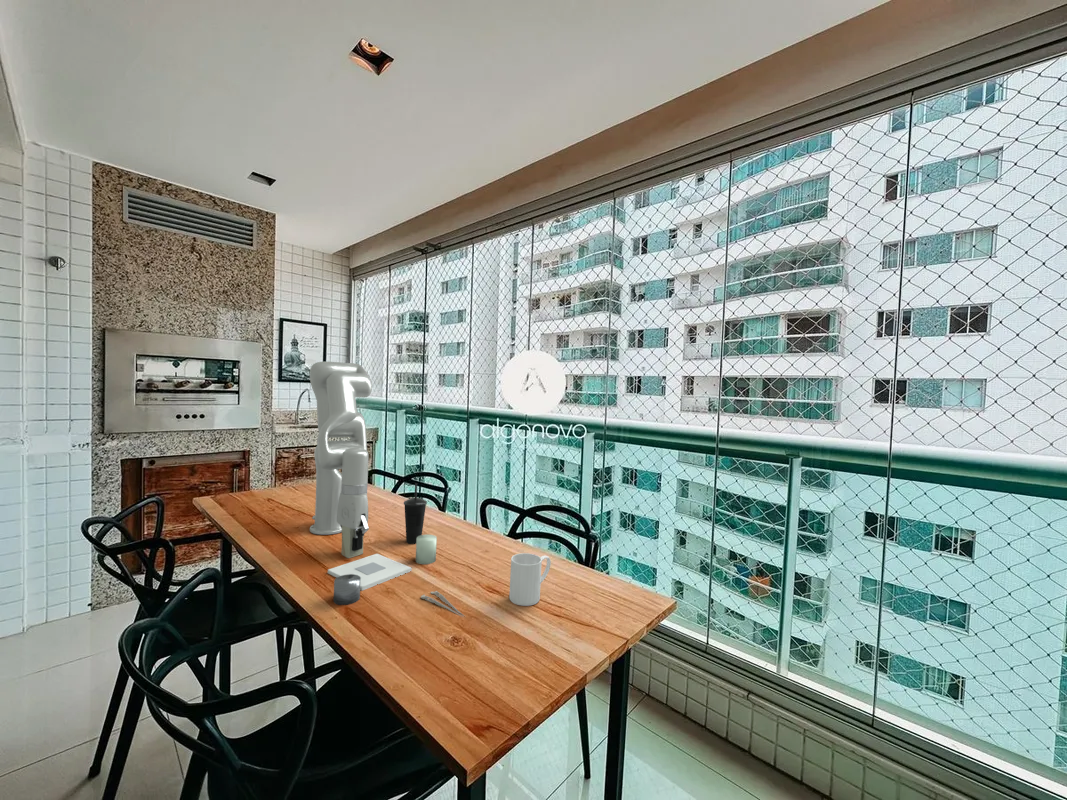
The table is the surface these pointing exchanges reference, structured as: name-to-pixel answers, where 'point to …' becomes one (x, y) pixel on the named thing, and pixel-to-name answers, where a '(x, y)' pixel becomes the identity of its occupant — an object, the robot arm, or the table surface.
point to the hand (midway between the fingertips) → (352, 546)
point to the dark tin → (347, 589)
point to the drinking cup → (414, 517)
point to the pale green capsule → (426, 549)
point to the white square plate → (371, 570)
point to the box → (349, 543)
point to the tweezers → (440, 603)
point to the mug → (526, 578)
